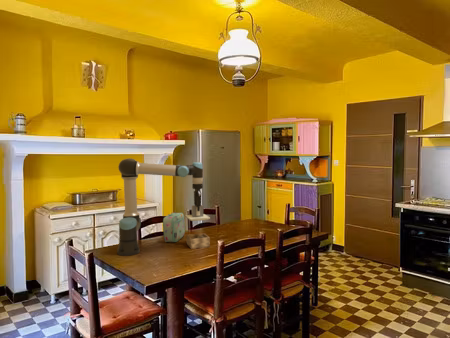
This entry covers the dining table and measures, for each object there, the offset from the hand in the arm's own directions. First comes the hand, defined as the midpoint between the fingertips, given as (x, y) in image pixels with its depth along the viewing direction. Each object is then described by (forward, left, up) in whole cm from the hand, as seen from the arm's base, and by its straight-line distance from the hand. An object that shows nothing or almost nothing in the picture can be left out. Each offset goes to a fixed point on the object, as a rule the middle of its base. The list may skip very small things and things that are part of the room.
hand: (197, 214), depth 259 cm
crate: (0, 0, -23) cm, 23 cm away
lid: (0, 0, -3) cm, 3 cm away
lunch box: (-13, +23, -23) cm, 35 cm away
